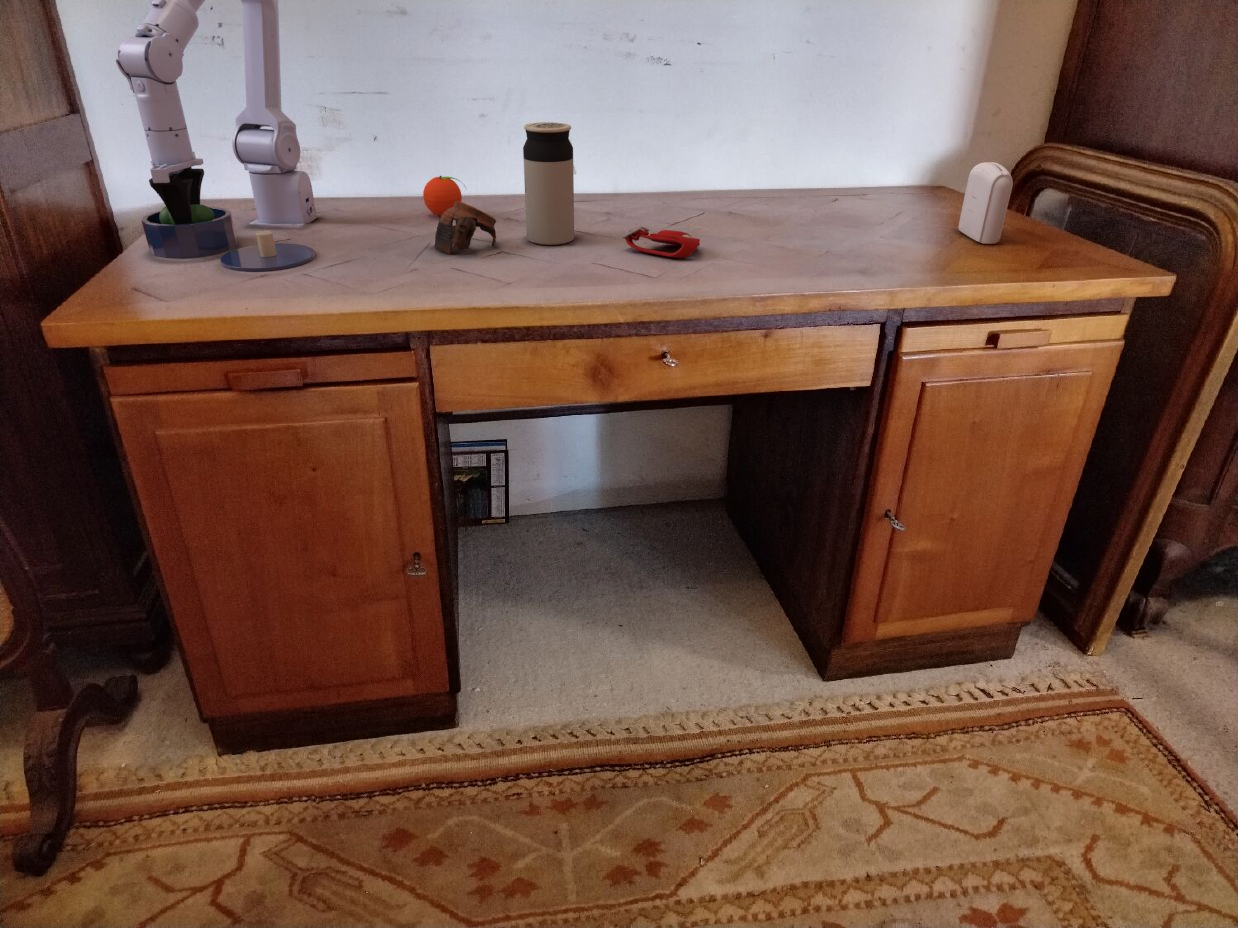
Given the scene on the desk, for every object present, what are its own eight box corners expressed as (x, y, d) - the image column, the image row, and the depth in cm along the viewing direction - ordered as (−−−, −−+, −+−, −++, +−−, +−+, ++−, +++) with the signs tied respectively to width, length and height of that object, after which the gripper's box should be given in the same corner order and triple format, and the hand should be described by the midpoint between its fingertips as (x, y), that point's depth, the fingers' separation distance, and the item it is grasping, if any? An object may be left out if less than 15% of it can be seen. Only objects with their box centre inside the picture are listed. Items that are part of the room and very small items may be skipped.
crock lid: (328, 251, 131) (323, 222, 129) (296, 276, 120) (290, 246, 118) (245, 249, 132) (239, 220, 130) (205, 274, 120) (198, 243, 118)
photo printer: (953, 229, 149) (969, 157, 143) (977, 230, 149) (993, 158, 143) (977, 245, 140) (994, 169, 134) (1002, 245, 140) (1020, 169, 134)
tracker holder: (683, 234, 139) (715, 233, 130) (680, 261, 140) (711, 262, 131) (619, 223, 134) (648, 222, 125) (616, 251, 135) (644, 252, 126)
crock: (250, 241, 136) (243, 207, 133) (215, 263, 125) (207, 226, 122) (176, 239, 136) (168, 205, 133) (135, 261, 125) (125, 224, 123)
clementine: (464, 210, 157) (461, 170, 153) (472, 218, 151) (469, 178, 148) (422, 212, 154) (418, 173, 151) (428, 221, 149) (424, 180, 145)
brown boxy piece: (429, 245, 137) (448, 198, 136) (482, 269, 140) (501, 223, 139) (428, 245, 126) (449, 193, 125) (486, 271, 129) (507, 221, 127)
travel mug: (582, 237, 141) (581, 124, 132) (560, 248, 135) (557, 131, 126) (541, 231, 144) (538, 120, 135) (518, 242, 138) (512, 127, 129)
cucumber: (221, 228, 131) (215, 202, 129) (214, 233, 128) (208, 206, 126) (167, 229, 130) (161, 203, 128) (159, 234, 127) (152, 208, 125)
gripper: (179, 136, 116) (202, 233, 123) (208, 121, 128) (227, 210, 135) (125, 136, 115) (151, 234, 122) (159, 121, 127) (181, 211, 134)
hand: (188, 222), depth 128 cm, fingers closed on cucumber, 4 cm apart
